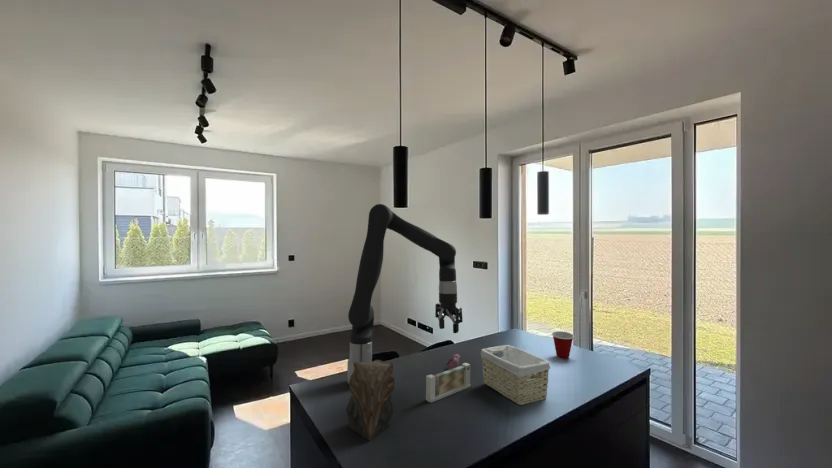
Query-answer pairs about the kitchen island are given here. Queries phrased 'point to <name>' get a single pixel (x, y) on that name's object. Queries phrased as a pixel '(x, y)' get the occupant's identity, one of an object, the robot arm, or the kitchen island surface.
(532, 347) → the kitchen island surface
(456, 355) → the video game controller
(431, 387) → the gate posts
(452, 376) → the panel
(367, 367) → the owl
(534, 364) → the storage basket
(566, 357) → the plastic cup
